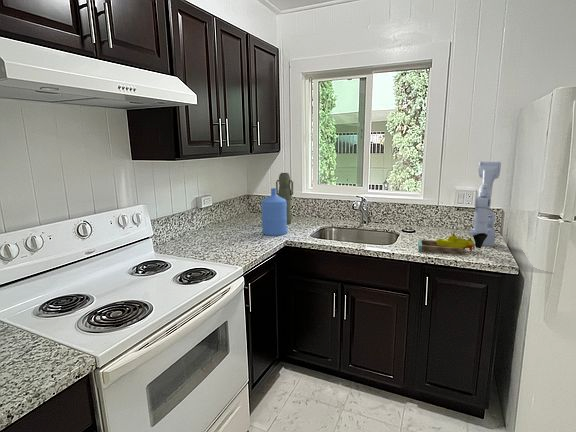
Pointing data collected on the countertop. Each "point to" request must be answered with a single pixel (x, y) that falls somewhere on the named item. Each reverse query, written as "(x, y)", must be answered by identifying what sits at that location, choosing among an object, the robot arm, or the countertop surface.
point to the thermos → (285, 192)
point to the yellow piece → (456, 242)
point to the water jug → (274, 215)
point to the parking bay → (437, 248)
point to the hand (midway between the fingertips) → (478, 247)
